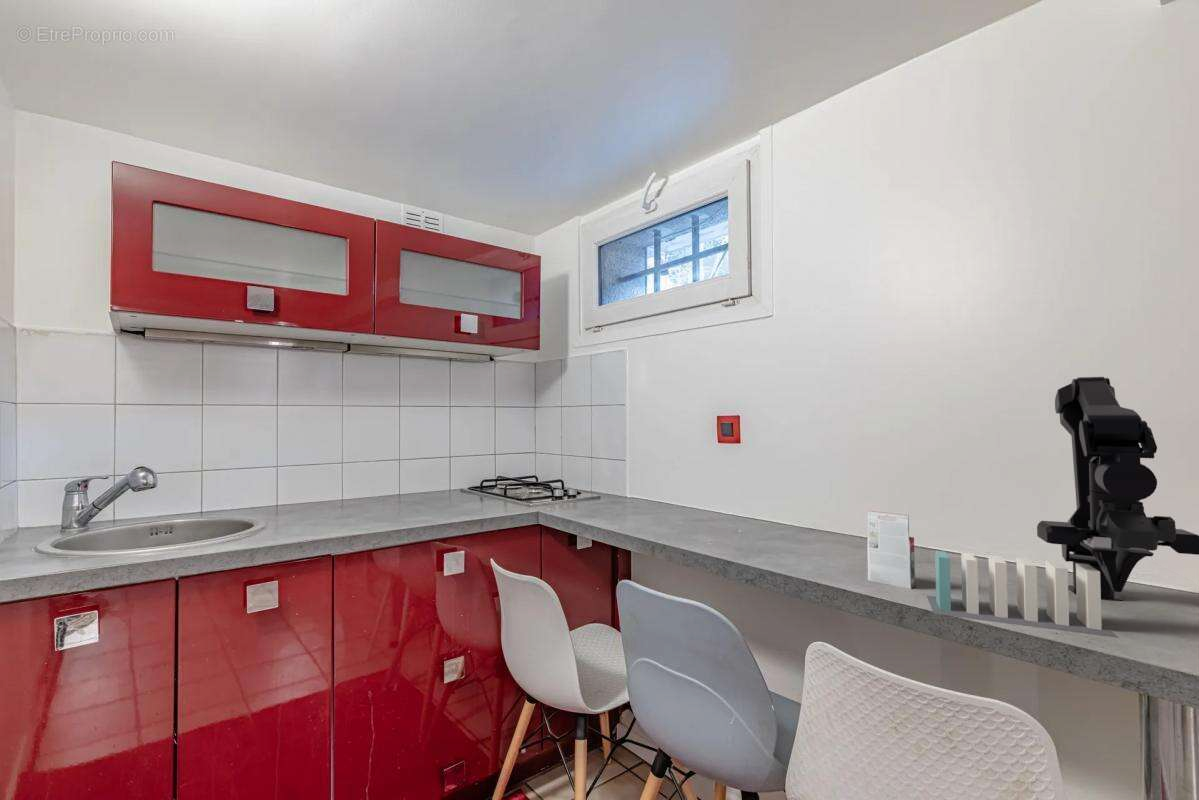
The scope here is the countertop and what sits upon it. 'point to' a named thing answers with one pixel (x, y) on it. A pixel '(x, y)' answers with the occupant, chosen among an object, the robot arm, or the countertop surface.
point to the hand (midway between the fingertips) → (1116, 591)
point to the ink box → (890, 550)
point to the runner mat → (1018, 617)
